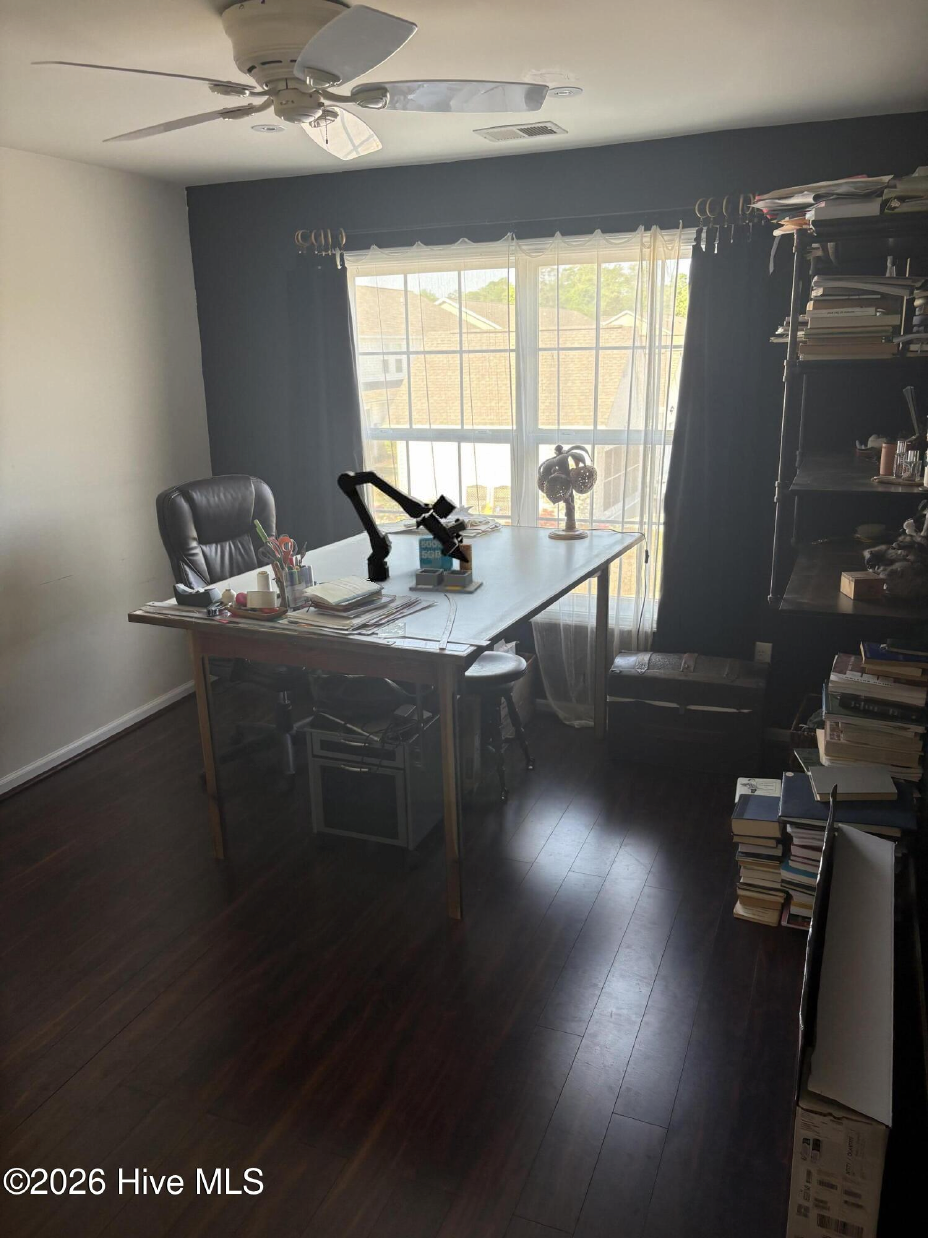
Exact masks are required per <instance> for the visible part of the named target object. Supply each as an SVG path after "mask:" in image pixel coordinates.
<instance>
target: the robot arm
mask: <svg viewBox="0 0 928 1238" xmlns="http://www.w3.org/2000/svg"><path fill="white" fill-rule="evenodd" d="M336 483H337V485H338V487H339V489H340V490H341V491H342V493H343V494H344V495H345V496H346V497H347V498H348V499H349V500H350V503H351V504H352V506H353V508H354V510H355V512H356V514H357V516H358V519H359V520H360V522H361V524H362V526H363V528H364V529H365V531H366V533H367V535H368V538H369V543H370V547H371V553H370V554H369V556H368V557H367V558H366V560H367V576H368V577H367V578H366V579H370V580H374V581H373V582H385V581H386V580H388V579H389V578H390V577H391V576H390V566H389V565H388V561H386V559H387V558H388V557H389V556H390V554H391V552H392V548H393V547H392V544H393V541H392V540H391V539H390V538H389V535H388V532H385V533H384V534H383V532H381V530H380V528H379V526H378V524H377V523H376V520H375V518H374V517H373V515H372V513H371V512H370V509H369V507H368V505H367V503H366V502H365V499H364V497H363V496H362V492H361V487H360V486H361V485H367V484H371V485H372V486H373V487H375V488H376V489H378V490H379V491H380V492H382V493H383V494H384V495H385V496H387V497H389V498H390V499H392V500H393V501H394V502H395V503H397V504H398V506H400V508H401V509H402V510H403V511H404V512H405V513H406V515H408V516H409V517H410V519H411V518H412V519H413V520H414V519H416V521H415V529H416V530H419V529H420V527H421V526H422V527H423V529H424V530H426V531H427V532H428V533H429V534H430V536H433V539H434V540H435V539H436V540H437V541H438V542H439V543H440V544H442V545H441V546H442V549H441V554H442V555H443V556H444V557H446V556H447V557H451V558H453V560H457V561H459V560H460V561H462V562H465V563H468V562H469V559H468V558H467V557H466V555H465V554H464V553H463V552H462V550H461V549H460V544H463V543H464V536H463V535H464V533H463V532H464V531H466V530H467V529H468V525H467V522H466V520H465V519H463V518H461V517H457V518H455V519H454V523H452V524H451V525H449V524H448V523H444V522H443V521H441V520H443V519H445V520H447V518H448V517H449V516H451V515H452V514H453V513H454V511H455V510H456V509H457V508H458V506H457V504H456V503H455V501H453V500H452V499H451V498H449V497H447V496H446V495H445V494H444V493H442V494H440V496H439V497H438V498H437V499H436V501H435V502H433V503H427V502H424V501H423V500H421V499H418V498H417V497H415V496H412V495H410V494H408V493H405V492H404V491H402V490H401V489H400V488H398V487H397V486H396V485H394V484H393V483H391V482H390V481H389V480H388V479H386V478H384V477H383V476H382V475H380V474H379V473H378V472H377V471H376V470H372V469H371V470H368V471H367V470H366V471H357V472H353V471H351V470H347V471H346V470H345V471H344V472H342V473H341V474H340V475H339V476H338V477H337V480H336ZM427 514H428V515H427ZM419 518H420V519H419ZM418 519H419V520H418Z"/></svg>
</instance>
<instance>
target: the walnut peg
mask: <svg viewBox="0 0 928 1238" xmlns="http://www.w3.org/2000/svg"><path fill="white" fill-rule="evenodd" d="M472 545H473V543H470V542H469V543H468V542H466V543H465V542H463V544H460V549H461V550H462V552H463V553H464V554H465V555H466V557H467V558H468V559H469V562H468V563H465V562H462V561H460V560H458V563H459V570H472V571H473V551H472V550H473V548H472V547H473V546H472Z"/></svg>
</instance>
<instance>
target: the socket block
mask: <svg viewBox="0 0 928 1238" xmlns="http://www.w3.org/2000/svg"><path fill="white" fill-rule="evenodd" d="M414 575H415V579H414V580H415V582H414V583H413V584H412V585H410V586H408V589H409V590H408V591H415V590H420V591H419V592H435V593H436V592H438V593H453V594H454V593H455V594H458V593H459V594H472V595H473V594H474V593H475V592H476V591H477V590H478V589H480V587H481V585H482V586H483V585H484V582H483V581H480V580H479V581H475V580H473V578H474V577H473V569H472V570H460V569H449V570H448V571H447V572H445V570H444V569H428V568H423V569H421V568H420V569H419V570H418V571H416V572H415V573H414Z"/></svg>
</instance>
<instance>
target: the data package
mask: <svg viewBox="0 0 928 1238" xmlns="http://www.w3.org/2000/svg"><path fill="white" fill-rule="evenodd" d="M441 545H442V544H440V543H439V542H438V541H437V540H436V539H435V540H434V539H433V536H432V535H421V536H419V538H418V556H419V557H418V558H419V559H418V560H419V568H420V570H421V569H423V568H428V569H449V570H452V569H453V567H454V558H451V557H447V556H446V557H444V556H443V555H442V554H441V549H442V546H441Z"/></svg>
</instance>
